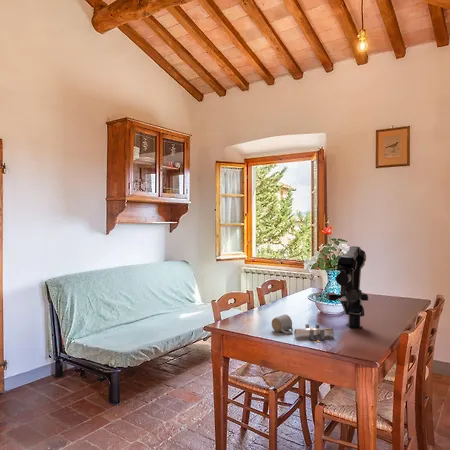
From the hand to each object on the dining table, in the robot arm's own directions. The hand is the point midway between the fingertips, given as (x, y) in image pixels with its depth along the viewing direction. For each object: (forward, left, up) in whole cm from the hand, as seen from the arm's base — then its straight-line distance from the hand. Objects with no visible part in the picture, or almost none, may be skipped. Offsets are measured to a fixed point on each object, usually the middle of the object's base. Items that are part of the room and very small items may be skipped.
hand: (346, 314), depth 178 cm
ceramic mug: (-10, -28, -11) cm, 32 cm away
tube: (0, -16, -11) cm, 19 cm away
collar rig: (0, -15, -11) cm, 19 cm away
